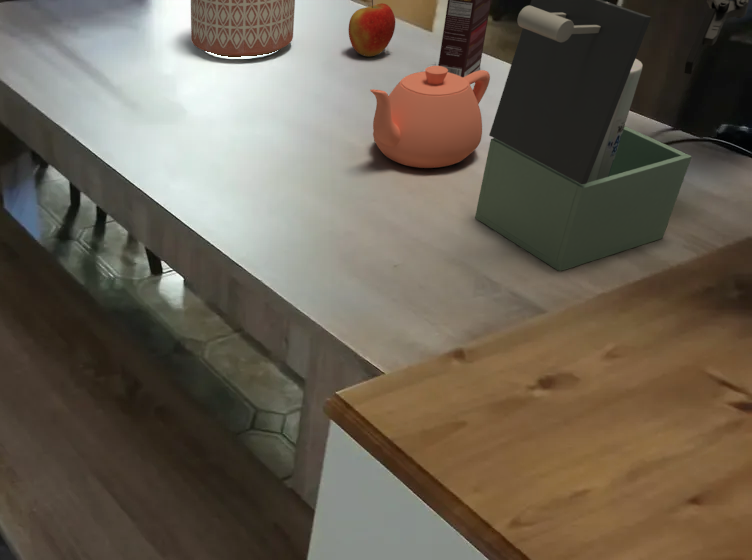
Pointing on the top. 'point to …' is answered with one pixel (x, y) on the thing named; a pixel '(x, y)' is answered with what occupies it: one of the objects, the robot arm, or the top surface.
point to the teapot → (430, 117)
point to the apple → (371, 29)
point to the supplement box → (464, 36)
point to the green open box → (582, 201)
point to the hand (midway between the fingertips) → (627, 59)
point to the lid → (567, 81)
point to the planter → (242, 26)
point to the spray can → (616, 127)
